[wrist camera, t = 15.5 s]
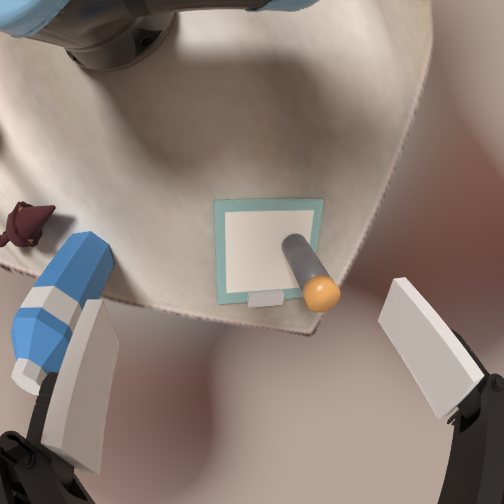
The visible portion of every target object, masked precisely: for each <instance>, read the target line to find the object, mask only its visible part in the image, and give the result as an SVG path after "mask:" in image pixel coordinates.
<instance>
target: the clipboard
mask: <svg viewBox="0 0 504 504" xmlns="http://www.w3.org/2000/svg"><path fill="white" fill-rule="evenodd" d="M323 205H324V201H323V200H322V199H233V200H214V224H215V254H216V277H217V297H218V304H231V303H245V302H247V304H248V308H252V307H264V306H276V305H283V301H284V299H293V298H303V295H302V291H301V289H300V287H299V284H298V282H297V280H296V278H295V276H294V274H293V272H292V270H291V268H290V265H289V263H288V261H287V259H286V257H285V255H284V253H283V251H282V243H283V241H284V239H285V238H286V237H287V236H289V235H291V234H300V235H302V236H304V237H305V239H306V240H307V242H308V243H309V245H310V246H311V248H312V249H313V251H314V253H315V254H316V251H317V245H318V239H319V232H320V226H321V219H322V212H323Z"/></svg>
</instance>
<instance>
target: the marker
mask: <svg viewBox="0 0 504 504" xmlns="http://www.w3.org/2000/svg"><path fill="white" fill-rule="evenodd" d="M282 251H283V253H284V255H285V257H286V259H287V261H288V263H289V265H290V268H291V270H292V272H293V274H294V276H295V278H296V280H297V282H298V284H299V287H300V289H301V291H302V295H303V297H304V299H305V301H306V304H307V306H308V308H309V309H310V310H311V311H313V312H324V311H327V310H329V309H331V308H332V307H333V306H334V305H335V304H336V303H337V302H338V300H339V298H340V290H339V289H338V287H337V285H336V284H335V282H334V281H333V279H332V278H331V277H330V276H329V274H328V273H327V271H326V270H325V268H324V266H323V265H322V263H321V262H320V260H319V259H318V257H317V256H316V254H315V253H314V251H313V249H312V248H311V246H310V245H309V243H308V242H307V240H306V239H305V237H304V236H302V235H300V234H291V235H289V236H287V237H286V238H285V239H284V241H283V243H282Z"/></svg>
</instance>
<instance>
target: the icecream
mask: <svg viewBox="0 0 504 504" xmlns="http://www.w3.org/2000/svg"><path fill="white" fill-rule="evenodd" d="M55 208H56V207H55V206H54V205H50V206H36V207H34V206H32V205H30V204H27V203H25V202H24V201H22V202H18V203H17V205H16V206H15V208H14V210H13V211H12V213H10V214H9V215H8V219H7V225H6V231H5V232H3V234H2V235H0V247H4V246H5V245H6V244H7V243H8V242H9V241H11V242H12V243H13V244H14V245H15V246H17V247H29V246H30V247H34V246H36V245H38V241H39V240H40V238H41V236H42V227H43V226H44V224H45V223H46V221H47V220H48V218H49V217H50V216H51V214H52V213H53V211H54V210H55Z"/></svg>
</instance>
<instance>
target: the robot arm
mask: <svg viewBox="0 0 504 504" xmlns="http://www.w3.org/2000/svg"><path fill="white" fill-rule="evenodd" d="M318 1H319V0H0V31H1V32H4V33H7V34H9V35H11V36H12V37H14V38H20V39H21V38H29V39H33V40H38V41H42V42H46V43H50V44H54V45H58V46H61V47H64V49H65V51H66V52H67V54H68V55H69V57H70V58H71V59H72V60H73V61H74V62H75V63H77V64H78V65H80V66H82V67H84V68H87V69H91V70H95V71H116V70H120V69H124V68H126V67H129V66H131V65H134V64H136V63H137V62H139V61H141V60H143V59H144V58H145V57H147V56H148V55H149V54H151V53H152V52H153V51H154V50H155V49H156V48H157V47H158V46H159V45H160V44H161V43H162V41H163V40H164V39H165V37H166V36H167V34H168V32H169V30H170V28H171V26H172V23H173V20H174V14H175V12H182V11H194V10H213V9H245V10H246V11H248V12H258V11H263V10H271V11H287V12H292V11H298V10H300V9H304V8H308V7H310V6H312V5H313V4H315V3H316V2H318ZM378 322H379V323H380V325H381V326H382V328H383V329H384V331H385V332H386V334H387V336H388V337H389V338H390V340H391V342H392V343H393V345H394V346H395V348H396V350H397V351H398V353H399V354H400V356H401V357H402V359H403V361H404V362H405V364H406V365H407V367H408V369H409V370H410V372H411V374H412V375H413V377H414V379H415V380H416V382H417V384H418V385H419V387H420V389H421V390H422V392H423V394H424V396H425V397H426V399H427V401H428V403H429V404H430V406H431V408H432V410H433V411H434V413H435V415H436V417H437V419H438V420H439V419H441V418H443V417H445V416H446V415H448V414H450V413H451V412H452V411H453V410H454V409H455V408H456V407H457V406H458V408H459V410H458V411H456V413H455V414H453V415H452V416H451V417H450V419H449V420H448V422H447V424H449V423H451V422H452V421H453V420H454V419H455V421H453V423H452V425H454V433H453V440H452V446H451V451H450V457H449V461H448V466H447V471H446V475H445V479H444V483H443V487H442V491H441V494H440V497H439V501H438V504H504V378H502V376H500V375H498V374H491V375H490V374H489V373H488V372H487V370H486V369H485V368H484V366H483V365H482V363H481V362H480V361H479V359H478V358H477V357H476V355H475V354H474V353H473V351H471V349H470V348H469V346H468V345H466V342H465V341H464V340H463V339H462V337H461V336H460V335H459V334H458V333H456V332H455V331H454V330H452V329H449V328H448V326H447V325H446V324H445V323H444V322H443V321H442V319H441V318H440V317H439V315H438V314H437V313H436V312H435V311H434V309H433V308H432V307H431V306H430V305H429V304H428V303H427V301H426V300H425V299H424V298H423V297H422V296H421V295H420V293H419V292H418V291H417V290H416V289H415V288H414V287H413V286H412V284H411V283H410V282H409V281H408V280H407V279H406V278H405V277H404V278H397V279H394V280H393V282H392V285H391V288H390V291H389V293H388V296H387V299H386V301H385V304H384V307H383V309H382V312H381V314H380V317H379V319H378ZM119 345H120V344H119V341H118V339H117V336H116V334H115V331H114V329H113V326H112V324H111V321H110V318H109V316H108V313H107V310H106V307H105V305H104V302H103V299H98V300H87V301H86V303H85V306H84V308H83V310H82V313H81V315H80V317H79V320H78V322H77V325H76V327H75V330H74V332H73V335H72V337H71V340H70V343H69V345H68V348H67V351H66V354H65V356H64V359H63V362H62V365H61V368H60V371H59V373H56V372H49V373H48V375H47V376H46V377H45V379H44V380H43V381H42V384H41V387H40V390H39V396H38V397H37V399H36V405H35V406H34V410H33V413H32V418H31V421H30V425H29V429H28V433H27V437H26V439H25V438H24V437H22V436H21V435H20V434H19V433H17V432H15V431H7V432H5V433H4V434H2V435H1V436H0V504H95V502H94V501H93V500H92V498H91V497H90V495H89V494H88V493H87V491H86V490H85V488H84V487H83V485H82V484H81V483H80V481H79V479H78V478H77V476H76V475H75V474H74V467H75V468H77V469H78V470H80V471H81V472H86V473H90V474H95V475H100V467H101V455H102V445H103V436H104V428H105V420H106V413H107V407H108V401H109V395H110V389H111V383H112V377H113V373H114V368H115V363H116V358H117V354H118V349H119Z"/></svg>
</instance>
